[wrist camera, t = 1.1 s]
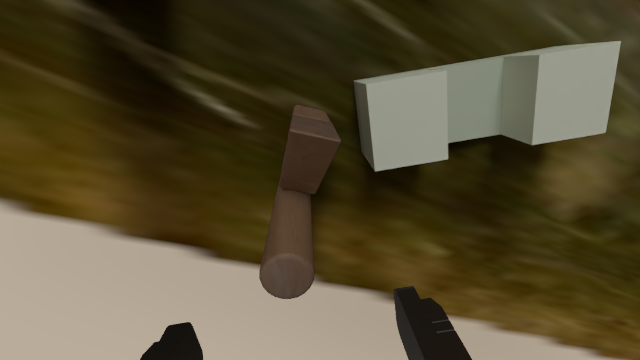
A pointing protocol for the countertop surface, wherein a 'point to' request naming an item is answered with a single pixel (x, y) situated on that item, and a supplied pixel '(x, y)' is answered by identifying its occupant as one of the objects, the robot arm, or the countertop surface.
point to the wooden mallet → (297, 204)
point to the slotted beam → (486, 102)
